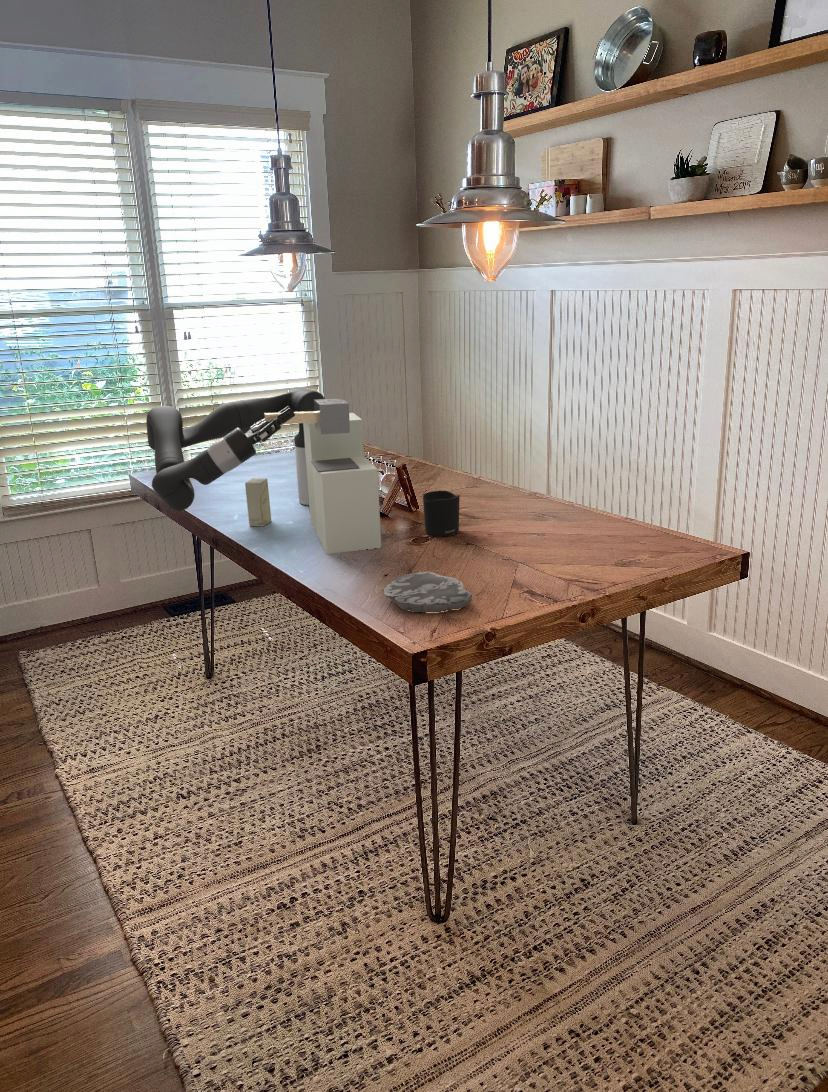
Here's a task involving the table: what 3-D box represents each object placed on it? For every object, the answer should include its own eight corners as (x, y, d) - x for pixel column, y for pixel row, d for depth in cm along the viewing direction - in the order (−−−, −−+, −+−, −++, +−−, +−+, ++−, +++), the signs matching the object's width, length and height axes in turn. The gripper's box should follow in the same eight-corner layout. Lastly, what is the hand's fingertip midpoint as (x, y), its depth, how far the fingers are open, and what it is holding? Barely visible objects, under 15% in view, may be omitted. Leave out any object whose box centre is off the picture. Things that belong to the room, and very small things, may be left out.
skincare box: (263, 526, 232) (259, 483, 228) (248, 526, 233) (244, 483, 229) (272, 520, 238) (268, 477, 234) (257, 520, 238) (253, 477, 235)
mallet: (343, 426, 212) (342, 398, 210) (349, 433, 204) (349, 403, 201) (263, 430, 207) (262, 401, 205) (267, 436, 199) (265, 406, 197)
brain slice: (366, 597, 179) (366, 584, 179) (434, 580, 188) (433, 568, 187) (416, 627, 164) (415, 613, 163) (487, 607, 172) (487, 594, 171)
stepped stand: (359, 518, 236) (353, 410, 227) (381, 548, 210) (375, 427, 201) (308, 523, 233) (300, 414, 224) (325, 554, 207) (316, 431, 198)
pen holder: (421, 537, 218) (420, 499, 214) (426, 527, 226) (425, 490, 223) (458, 537, 216) (457, 499, 213) (461, 527, 225) (460, 490, 222)
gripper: (223, 443, 194) (286, 401, 195) (220, 433, 207) (280, 393, 208) (242, 469, 197) (304, 428, 198) (238, 458, 210) (297, 419, 211)
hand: (291, 410), depth 203 cm, fingers closed on mallet, 2 cm apart
